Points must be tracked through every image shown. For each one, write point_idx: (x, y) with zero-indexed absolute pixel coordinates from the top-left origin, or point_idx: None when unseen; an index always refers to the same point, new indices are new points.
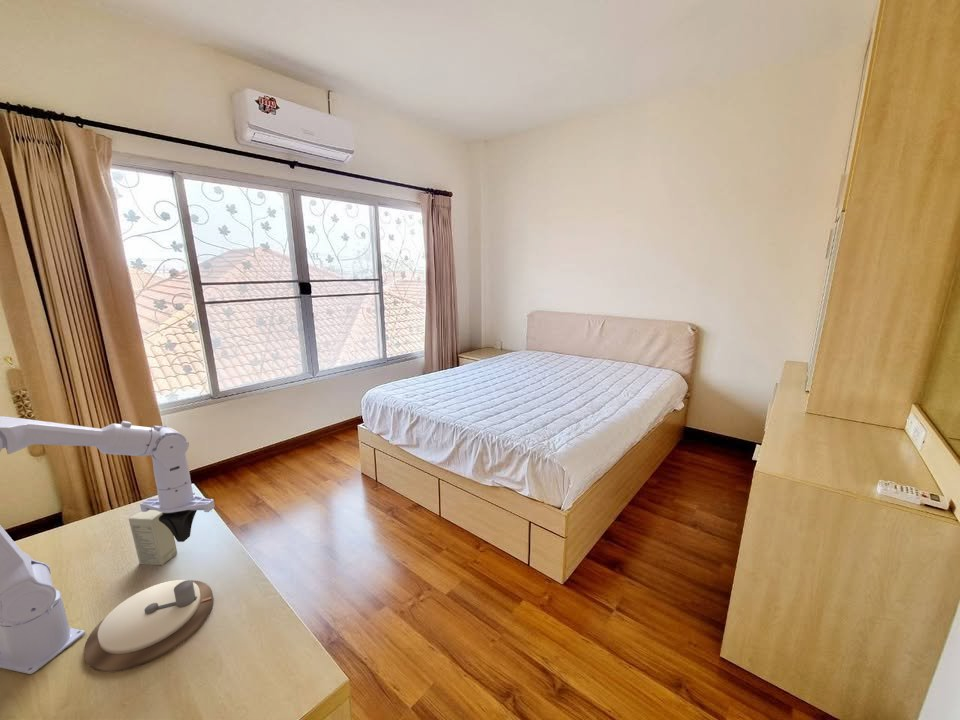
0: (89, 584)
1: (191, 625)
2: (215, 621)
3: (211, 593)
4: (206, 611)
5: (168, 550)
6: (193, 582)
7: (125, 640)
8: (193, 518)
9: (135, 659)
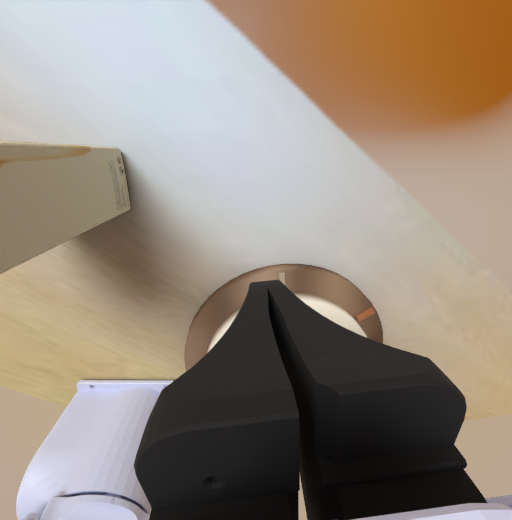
0: (9, 290)
1: None
2: (395, 333)
3: (364, 298)
4: (380, 335)
5: (110, 184)
6: (326, 308)
7: None
8: (332, 321)
9: None
